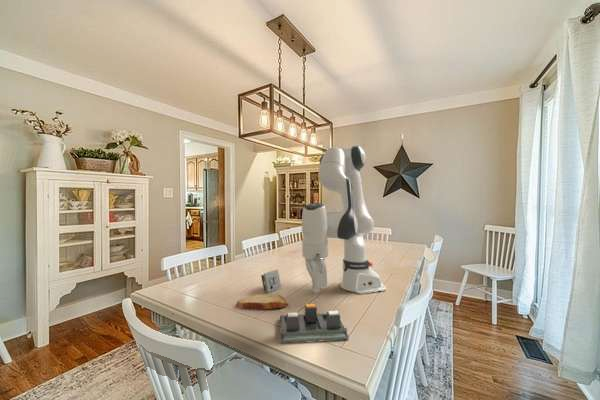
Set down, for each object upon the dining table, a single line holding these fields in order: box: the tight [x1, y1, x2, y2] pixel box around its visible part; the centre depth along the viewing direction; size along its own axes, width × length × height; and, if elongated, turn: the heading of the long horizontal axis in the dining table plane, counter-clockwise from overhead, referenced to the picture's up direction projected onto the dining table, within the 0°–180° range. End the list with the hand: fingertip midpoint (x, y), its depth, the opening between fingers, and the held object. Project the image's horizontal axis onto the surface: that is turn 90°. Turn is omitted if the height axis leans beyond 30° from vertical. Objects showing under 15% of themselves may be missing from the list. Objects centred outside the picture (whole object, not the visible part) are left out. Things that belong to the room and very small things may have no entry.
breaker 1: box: [286, 312, 299, 331], centre depth 81 cm, size 4×3×6 cm
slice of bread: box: [235, 293, 289, 311], centre depth 103 cm, size 18×18×4 cm
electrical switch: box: [260, 269, 282, 294], centre depth 121 cm, size 9×5×9 cm, turn 141°
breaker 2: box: [326, 310, 341, 329], centre depth 83 cm, size 4×3×6 cm
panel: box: [279, 312, 349, 344], centre depth 85 cm, size 22×15×2 cm
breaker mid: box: [304, 303, 318, 322], centre depth 88 cm, size 4×3×6 cm
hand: (316, 290), depth 83 cm, fingers closed
